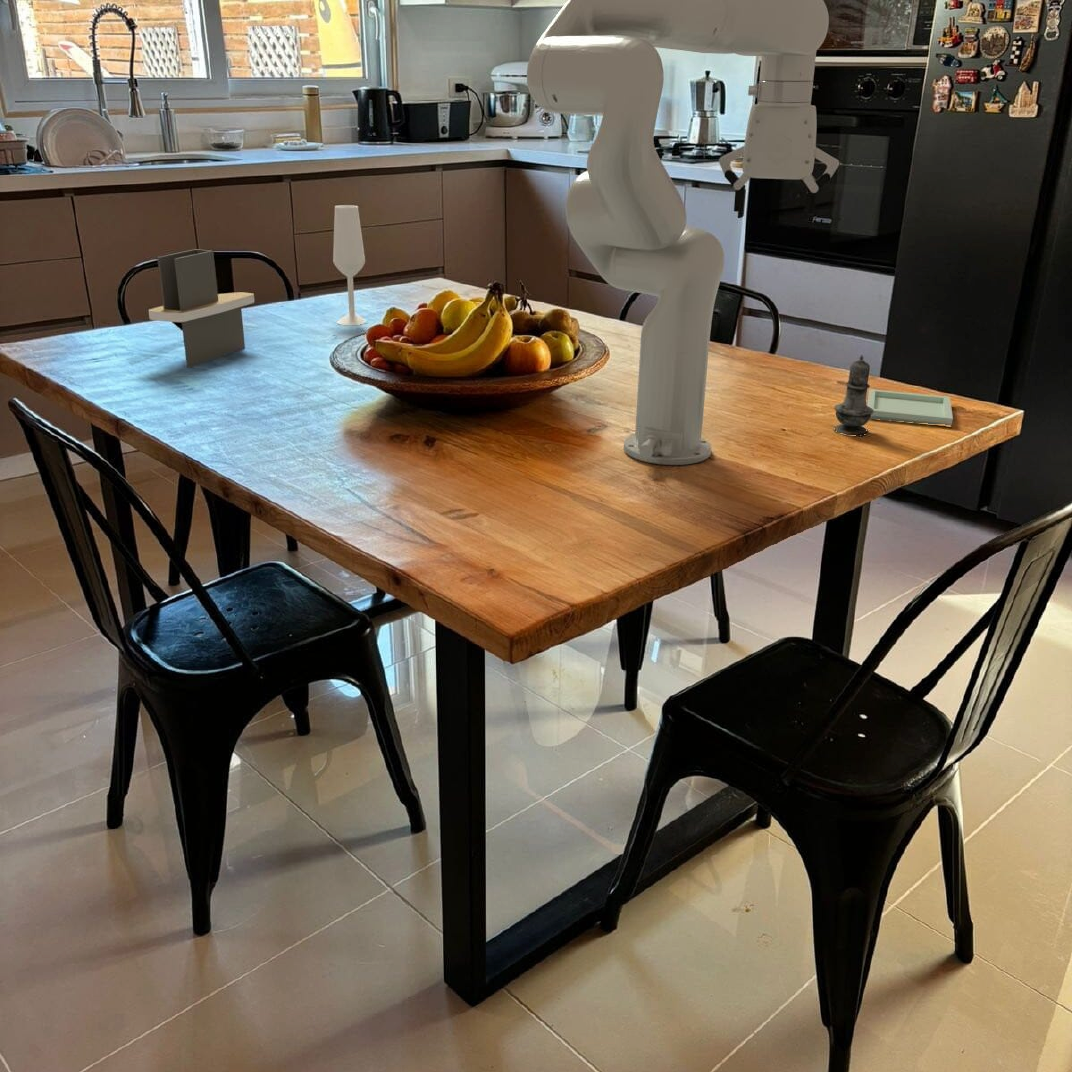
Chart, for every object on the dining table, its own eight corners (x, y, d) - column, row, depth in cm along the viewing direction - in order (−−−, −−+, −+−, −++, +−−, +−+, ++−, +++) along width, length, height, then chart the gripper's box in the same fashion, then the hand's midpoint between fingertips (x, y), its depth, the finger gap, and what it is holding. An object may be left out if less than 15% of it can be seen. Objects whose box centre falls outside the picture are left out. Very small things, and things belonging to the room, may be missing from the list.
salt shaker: (855, 439, 159) (867, 362, 155) (823, 429, 164) (833, 354, 159) (878, 432, 163) (890, 356, 158) (846, 423, 167) (856, 348, 162)
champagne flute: (342, 326, 223) (336, 209, 213) (332, 320, 228) (325, 205, 219) (372, 323, 226) (367, 207, 216) (361, 317, 231) (356, 204, 222)
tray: (951, 427, 166) (952, 418, 165) (865, 418, 169) (867, 409, 169) (948, 405, 177) (949, 396, 176) (868, 397, 181) (869, 389, 180)
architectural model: (216, 331, 219) (206, 233, 211) (321, 343, 211) (315, 242, 203) (82, 375, 186) (64, 261, 178) (200, 391, 178) (187, 273, 170)
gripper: (721, 94, 149) (712, 219, 156) (847, 96, 145) (832, 224, 152) (726, 93, 156) (717, 212, 163) (847, 94, 152) (832, 217, 159)
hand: (773, 218), depth 158 cm, fingers open, 9 cm apart
